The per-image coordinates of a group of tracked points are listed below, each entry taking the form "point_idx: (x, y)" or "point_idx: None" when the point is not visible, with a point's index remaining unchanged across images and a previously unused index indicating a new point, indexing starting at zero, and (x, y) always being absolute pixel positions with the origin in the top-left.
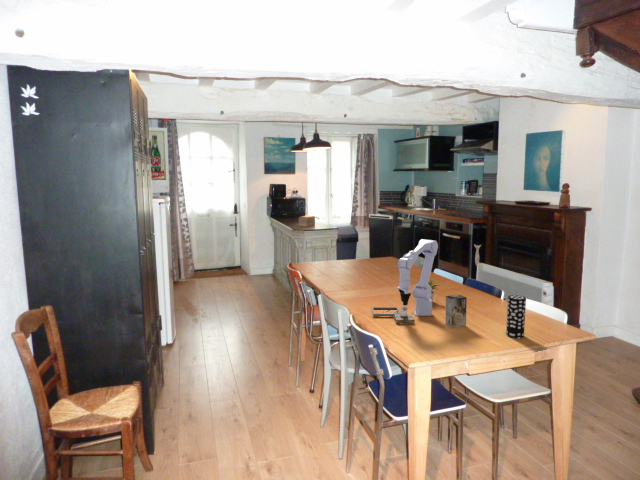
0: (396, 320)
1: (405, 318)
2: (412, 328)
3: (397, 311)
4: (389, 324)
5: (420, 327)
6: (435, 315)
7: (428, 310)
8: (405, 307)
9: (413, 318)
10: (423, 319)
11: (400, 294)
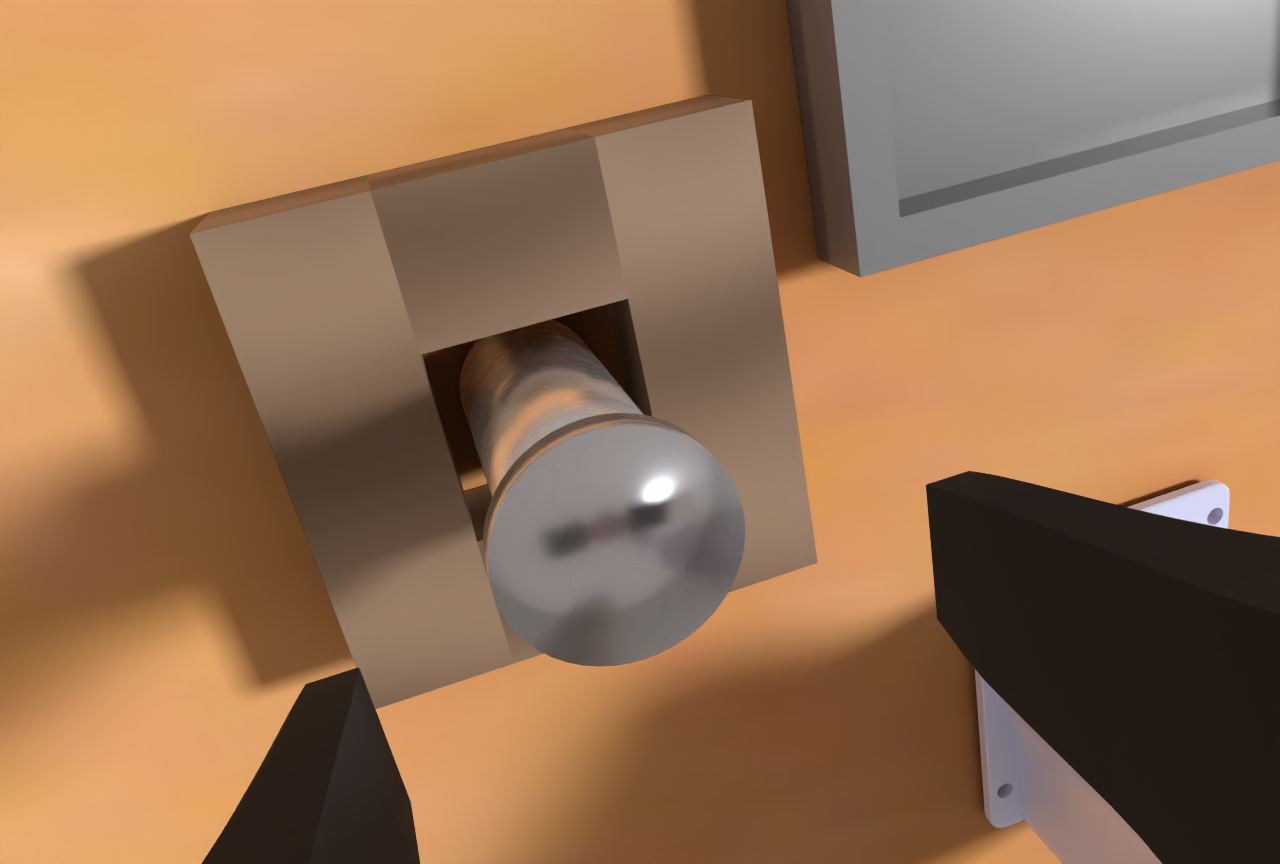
0: (196, 237)
1: (420, 478)
2: (6, 665)
3: (1147, 141)
4: (96, 6)
5: (174, 799)
6: (1019, 854)
7: (1074, 830)
8: (633, 587)
9: (481, 664)
10: (759, 733)
11: (1195, 591)
